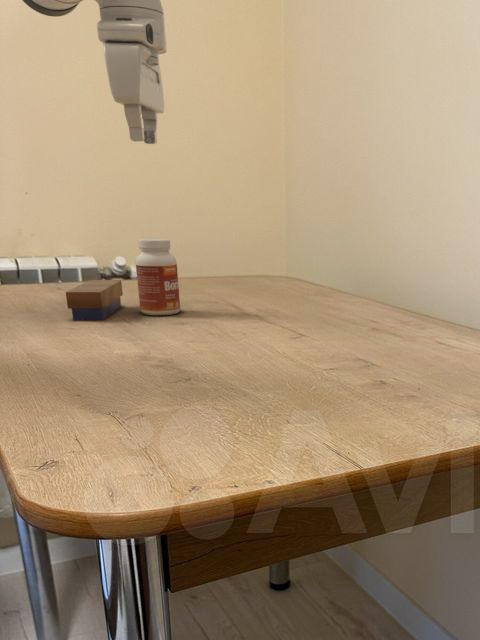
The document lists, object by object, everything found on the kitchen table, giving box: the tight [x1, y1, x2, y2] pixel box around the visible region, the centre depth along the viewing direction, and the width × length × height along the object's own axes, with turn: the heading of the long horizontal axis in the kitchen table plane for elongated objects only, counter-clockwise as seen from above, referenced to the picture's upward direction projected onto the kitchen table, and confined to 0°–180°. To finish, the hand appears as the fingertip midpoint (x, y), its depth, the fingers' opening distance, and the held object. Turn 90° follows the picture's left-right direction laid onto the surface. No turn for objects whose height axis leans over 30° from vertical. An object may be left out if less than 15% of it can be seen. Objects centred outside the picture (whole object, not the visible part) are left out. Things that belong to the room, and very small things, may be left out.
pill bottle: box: [135, 238, 181, 316], centre depth 110 cm, size 6×6×11 cm
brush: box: [65, 279, 124, 321], centre depth 110 cm, size 13×5×4 cm, turn 4°
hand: (144, 142), depth 108 cm, fingers open, 8 cm apart
